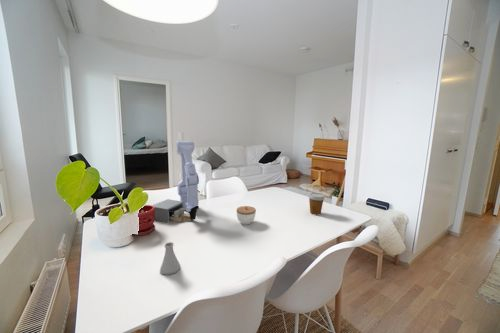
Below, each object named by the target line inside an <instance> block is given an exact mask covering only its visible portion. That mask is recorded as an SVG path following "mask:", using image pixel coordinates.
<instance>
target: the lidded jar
mask: <svg viewBox="0 0 500 333" xmlns="http://www.w3.org/2000/svg"><path fill="white" fill-rule="evenodd" d="M236 217H237V218H236V219H237V221H239V223H240V224H242V225H250V224H252V223H253V221H255V217H256V207H253V206H250V205H244V206H238V207H237V208H236Z"/></svg>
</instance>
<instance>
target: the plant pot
mask: <svg viewBox="0 0 500 333" xmlns="http://www.w3.org/2000/svg"><path fill="white" fill-rule="evenodd" d="M144 205H145V204H144ZM142 210H143V211H144V212H143V213H142V212H141V211H142ZM138 217H139V231H138V235H137V236H144V235H147V234H149V233H152V232H153V231H154V230H155V228H156V224H155V221H156V220H155V207H154V206H152V205H149V204H146V205H145V206H144V207H143V208H141V209H140V210H139V213H138Z"/></svg>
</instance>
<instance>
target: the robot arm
mask: <svg viewBox="0 0 500 333" xmlns="http://www.w3.org/2000/svg"><path fill="white" fill-rule="evenodd" d="M194 150H195V143H194V141H193V140H182V141H180V140H177V141H176V153H177V155H180V156H179V157H180V164H181V168H180V169H181V180H180V181H179V182H178V183H177V195H178V196H180V197H179V201H182V202H183V205H184V211H185V210H186V212H188V214H189V215H190V218H191V221H192V220H193V221H194V220H196V219H197V212H198V209H199V207H200V206H199V194H198V193H199V189H198V188H199V187H198V186H199V183H200V182H199V181H200V180H199V174H198V172H197V169H196V165H195V163H194V162H193V156H192V154H193V152H194Z"/></svg>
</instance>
